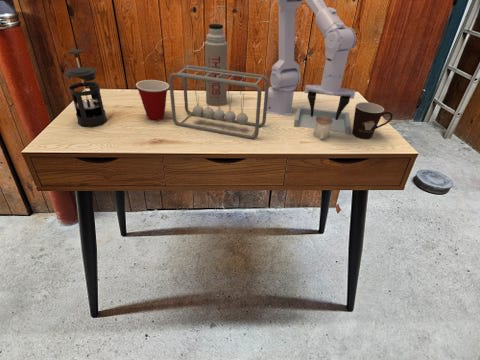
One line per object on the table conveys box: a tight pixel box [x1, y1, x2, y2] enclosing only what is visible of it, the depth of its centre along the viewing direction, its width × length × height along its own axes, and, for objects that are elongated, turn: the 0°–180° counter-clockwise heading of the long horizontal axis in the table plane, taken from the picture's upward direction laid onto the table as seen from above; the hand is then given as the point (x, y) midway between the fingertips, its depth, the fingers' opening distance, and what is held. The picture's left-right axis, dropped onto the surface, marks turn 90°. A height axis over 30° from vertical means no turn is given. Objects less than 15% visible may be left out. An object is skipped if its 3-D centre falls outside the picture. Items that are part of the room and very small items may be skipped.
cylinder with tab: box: [313, 116, 333, 140], centre depth 103 cm, size 5×7×6 cm
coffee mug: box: [351, 101, 393, 140], centre depth 103 cm, size 12×9×10 cm
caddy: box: [293, 106, 351, 135], centre depth 112 cm, size 18×13×3 cm
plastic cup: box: [135, 79, 170, 122], centre depth 109 cm, size 11×11×12 cm
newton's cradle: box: [168, 64, 270, 140], centre depth 104 cm, size 30×10×18 cm, turn 72°
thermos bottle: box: [204, 23, 228, 107], centre depth 118 cm, size 8×8×28 cm
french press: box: [64, 49, 108, 128], centre depth 102 cm, size 12×9×23 cm
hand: (324, 117), depth 101 cm, fingers open, 7 cm apart
